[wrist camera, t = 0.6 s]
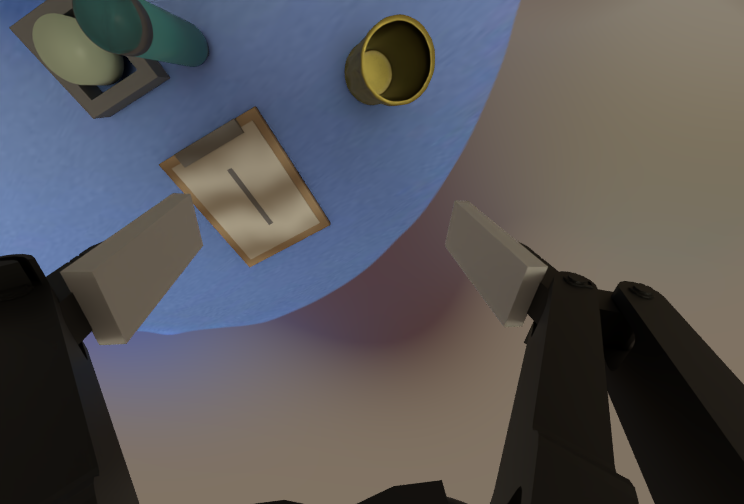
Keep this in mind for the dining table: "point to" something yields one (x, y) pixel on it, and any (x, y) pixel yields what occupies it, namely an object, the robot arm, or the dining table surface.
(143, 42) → the marker
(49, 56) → the button
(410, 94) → the vase
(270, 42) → the dining table surface
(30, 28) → the button frame
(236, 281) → the dining table surface
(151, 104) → the dining table surface
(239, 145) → the drawing board
